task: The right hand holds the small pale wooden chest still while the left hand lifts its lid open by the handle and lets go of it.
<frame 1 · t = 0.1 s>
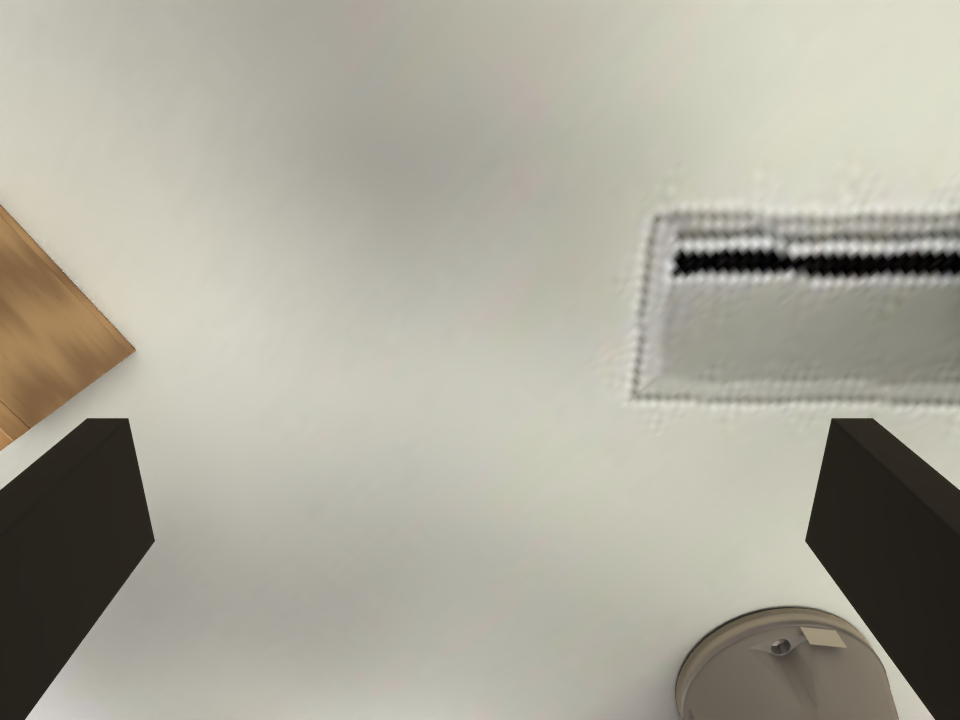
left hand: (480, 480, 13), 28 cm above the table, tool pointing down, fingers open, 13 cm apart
chest: (6, 306, 41), on the table
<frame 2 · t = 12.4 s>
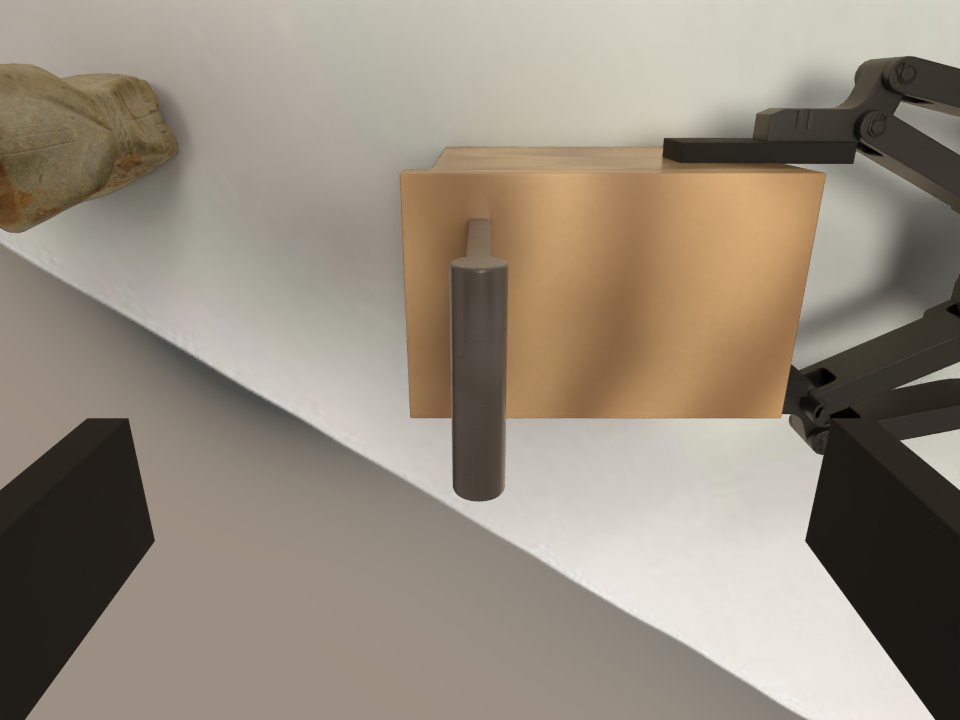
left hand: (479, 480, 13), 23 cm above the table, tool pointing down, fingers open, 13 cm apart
right hand: (659, 270, 28), fingers closed on chest, 9 cm apart
sculpture: (119, 135, 33), on the table
lid: (621, 334, 21), point 15 cm above the table, hinge at 0.0°
chest: (573, 237, 34), on the table, touching right hand
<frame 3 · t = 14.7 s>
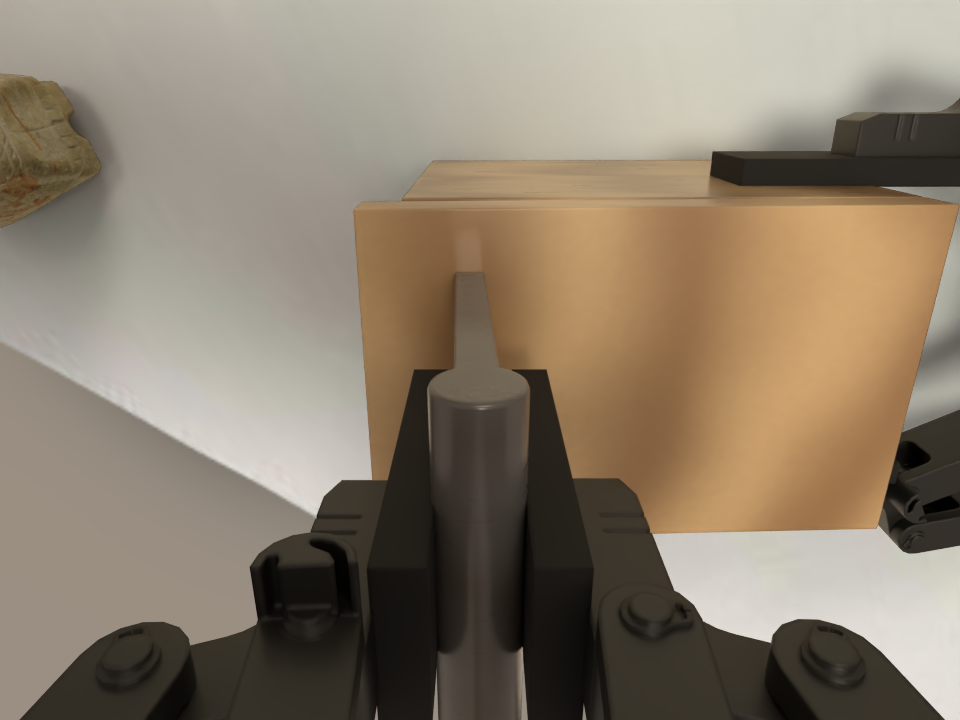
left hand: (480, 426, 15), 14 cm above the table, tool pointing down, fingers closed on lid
sculpture: (29, 150, 26), on the table
lid: (683, 448, 14), point 15 cm above the table, hinge at 2.3°, touching left hand
chest: (590, 271, 28), on the table, touching right hand
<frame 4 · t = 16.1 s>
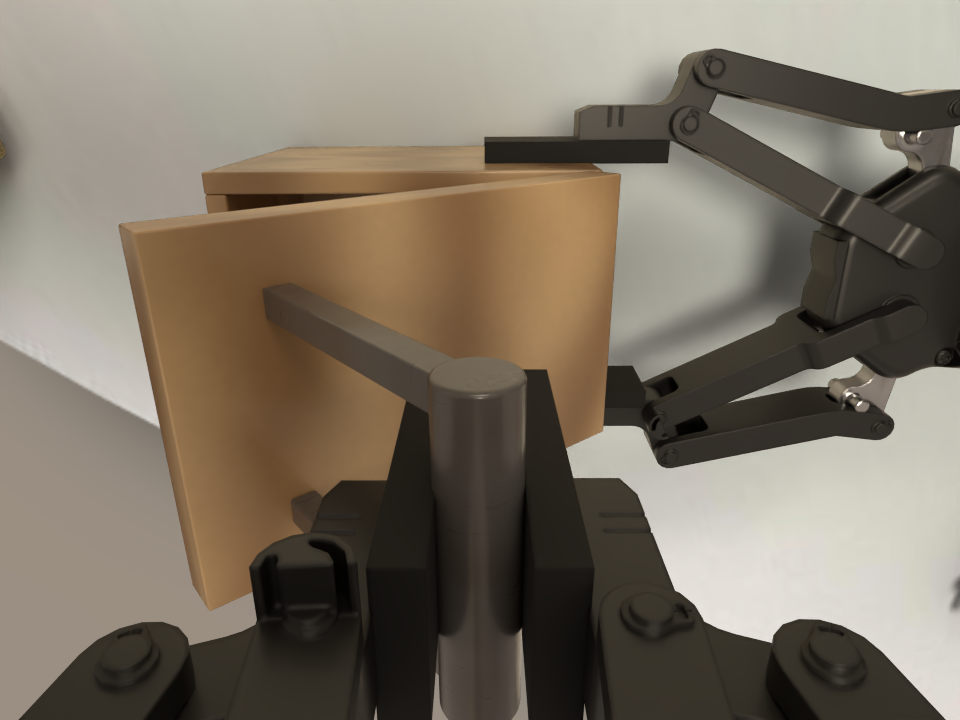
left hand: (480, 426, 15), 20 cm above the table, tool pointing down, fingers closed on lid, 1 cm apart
right hand: (485, 276, 27), fingers closed on chest, 9 cm apart
lid: (522, 402, 16), point 19 cm above the table, hinge at 39.7°, touching left hand
chest: (429, 240, 33), on the table, touching right hand
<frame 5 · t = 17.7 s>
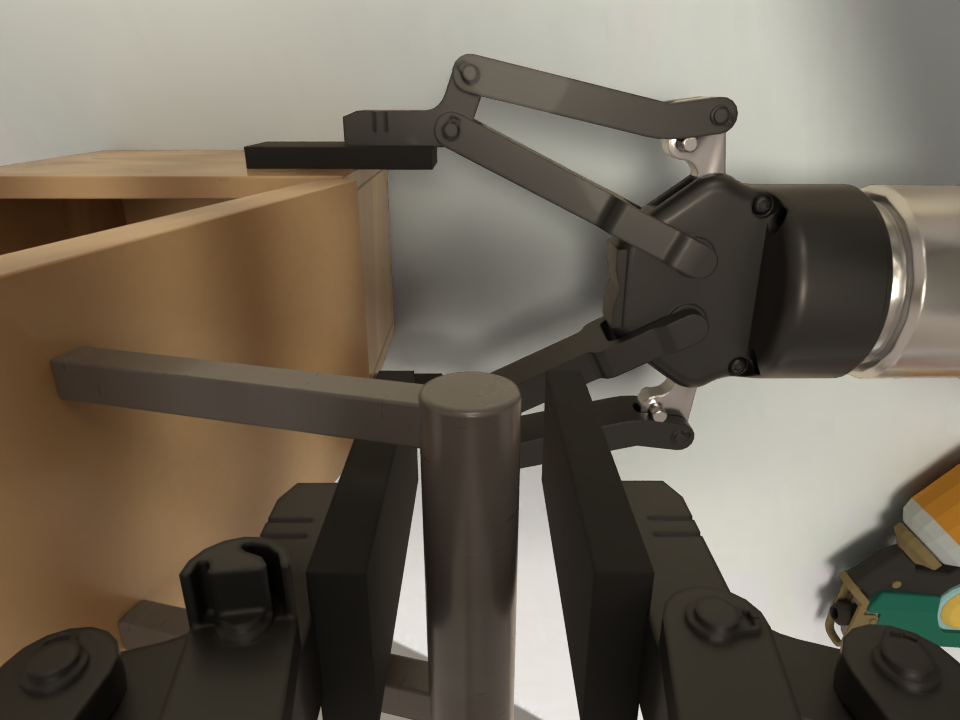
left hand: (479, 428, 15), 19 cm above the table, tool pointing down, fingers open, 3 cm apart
right hand: (272, 282, 26), fingers closed on chest, 9 cm apart
lid: (368, 422, 15), point 19 cm above the table, hinge at 74.7°
chest: (257, 245, 33), on the table, touching right hand
when the right hand's fingers open (7 cm above the table, at t = 21.8 s): chest stays where it is, on the table.
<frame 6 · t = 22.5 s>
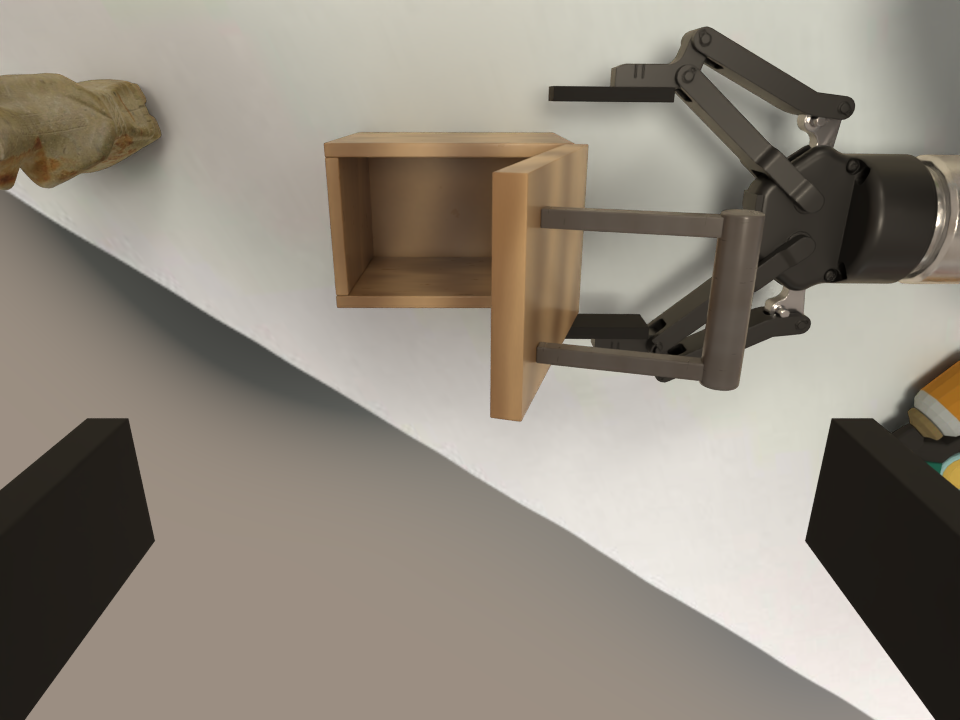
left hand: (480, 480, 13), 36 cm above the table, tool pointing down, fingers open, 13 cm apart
right hand: (544, 217, 40), fingers open, 13 cm apart
sculpture: (117, 124, 44), on the table
lid: (633, 266, 29), point 19 cm above the table, hinge at 73.4°
chest: (456, 200, 46), on the table
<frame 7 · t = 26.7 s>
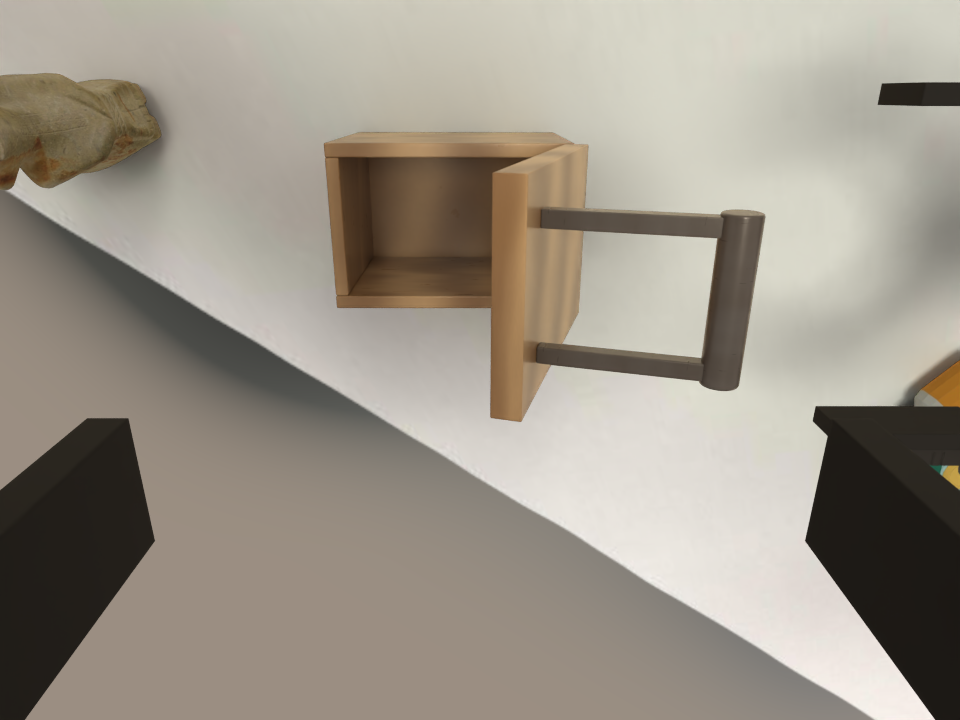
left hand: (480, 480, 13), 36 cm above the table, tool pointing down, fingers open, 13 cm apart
sculpture: (117, 124, 44), on the table
lid: (633, 266, 29), point 19 cm above the table, hinge at 73.4°
chest: (456, 200, 46), on the table
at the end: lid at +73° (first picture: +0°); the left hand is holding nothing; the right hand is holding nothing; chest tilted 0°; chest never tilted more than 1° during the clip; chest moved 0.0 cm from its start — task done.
